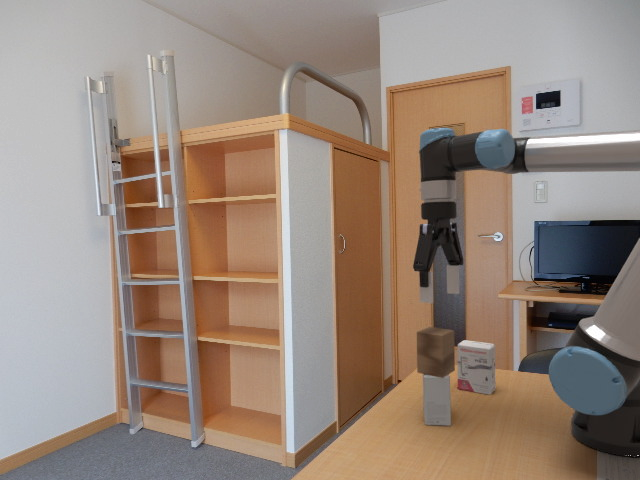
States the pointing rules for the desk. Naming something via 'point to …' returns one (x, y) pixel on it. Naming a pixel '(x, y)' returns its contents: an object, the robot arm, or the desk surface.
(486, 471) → the desk surface
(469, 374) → the ink box
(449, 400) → the small box
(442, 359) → the walnut block
